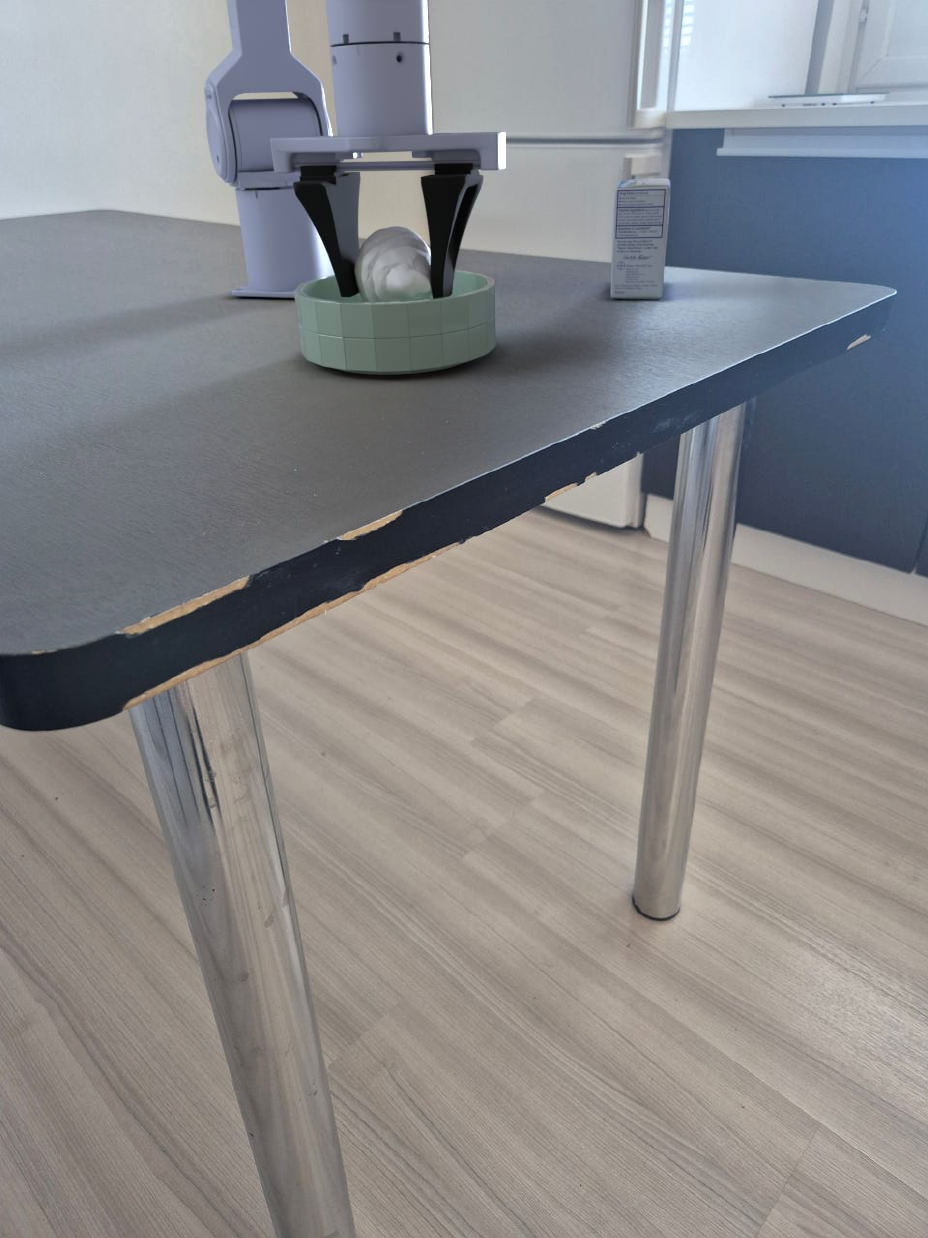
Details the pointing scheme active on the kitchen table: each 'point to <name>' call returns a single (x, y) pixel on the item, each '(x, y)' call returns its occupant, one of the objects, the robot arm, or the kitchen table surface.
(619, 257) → the medicine box
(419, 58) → the robot arm
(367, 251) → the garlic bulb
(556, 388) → the kitchen table surface
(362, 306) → the bowl
